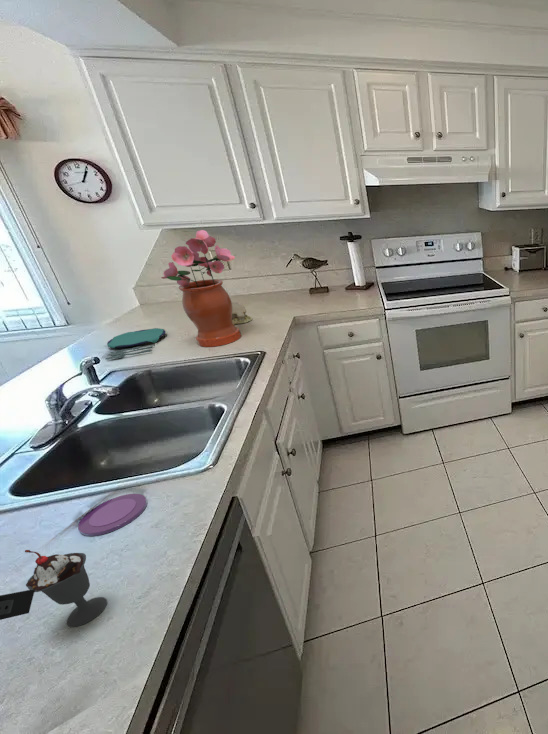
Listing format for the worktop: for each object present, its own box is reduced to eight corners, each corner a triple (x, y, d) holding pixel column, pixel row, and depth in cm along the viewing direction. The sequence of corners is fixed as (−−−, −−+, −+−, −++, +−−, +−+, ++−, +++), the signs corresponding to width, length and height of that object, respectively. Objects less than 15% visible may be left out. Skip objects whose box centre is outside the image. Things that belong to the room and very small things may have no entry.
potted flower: (260, 339, 175) (227, 230, 156) (188, 355, 162) (143, 238, 143) (253, 327, 189) (223, 225, 170) (187, 340, 176) (146, 232, 157)
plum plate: (64, 535, 82) (62, 532, 82) (114, 495, 92) (112, 492, 92) (114, 537, 82) (112, 534, 81) (160, 497, 91) (158, 493, 91)
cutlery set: (171, 329, 189) (169, 324, 188) (157, 352, 165) (155, 347, 164) (116, 338, 181) (114, 333, 180) (93, 363, 157) (91, 358, 156)
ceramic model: (249, 315, 204) (243, 296, 200) (254, 321, 197) (248, 301, 192) (216, 322, 196) (209, 302, 192) (220, 328, 188) (213, 308, 184)
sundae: (60, 611, 68) (11, 547, 62) (113, 585, 72) (72, 523, 66) (57, 642, 64) (4, 576, 57) (114, 613, 67) (70, 549, 61)
